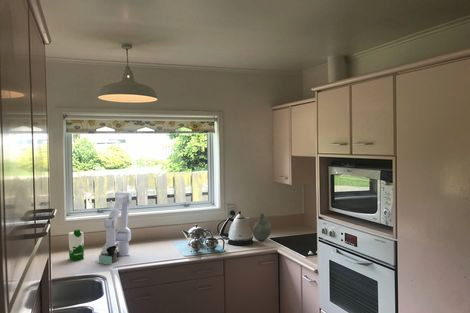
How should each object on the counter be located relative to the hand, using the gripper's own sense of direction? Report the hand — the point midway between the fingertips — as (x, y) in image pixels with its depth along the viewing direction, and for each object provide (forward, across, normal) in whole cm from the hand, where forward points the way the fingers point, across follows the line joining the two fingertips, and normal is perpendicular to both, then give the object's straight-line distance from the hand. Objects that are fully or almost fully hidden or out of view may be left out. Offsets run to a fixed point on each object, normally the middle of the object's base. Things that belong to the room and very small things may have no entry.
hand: (111, 257), depth 245 cm
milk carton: (+4, 0, -27) cm, 28 cm away
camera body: (+3, -4, -5) cm, 7 cm away
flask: (+4, -85, +79) cm, 116 cm away
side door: (+3, +3, -3) cm, 5 cm away
